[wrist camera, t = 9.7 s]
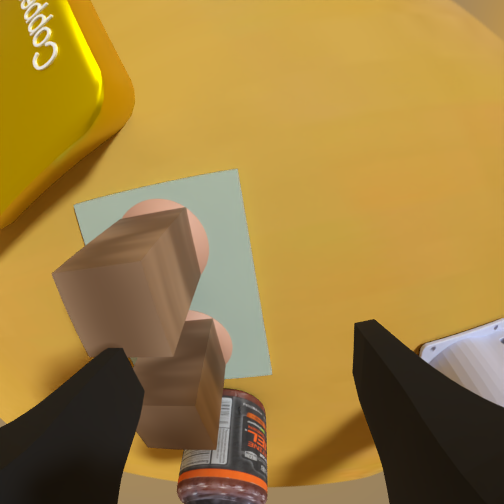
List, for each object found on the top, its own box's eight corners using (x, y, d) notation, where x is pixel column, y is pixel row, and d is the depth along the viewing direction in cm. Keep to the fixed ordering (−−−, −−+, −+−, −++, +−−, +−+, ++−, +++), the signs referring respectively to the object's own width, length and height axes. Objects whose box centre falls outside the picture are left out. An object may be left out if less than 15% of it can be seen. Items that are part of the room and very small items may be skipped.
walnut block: (186, 206, 16) (140, 261, 9) (201, 274, 17) (173, 356, 11) (120, 218, 16) (51, 273, 10) (138, 282, 18) (89, 356, 11)
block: (212, 318, 19) (195, 405, 12) (225, 364, 20) (216, 450, 14) (153, 323, 19) (117, 404, 12) (171, 368, 20) (148, 447, 14)
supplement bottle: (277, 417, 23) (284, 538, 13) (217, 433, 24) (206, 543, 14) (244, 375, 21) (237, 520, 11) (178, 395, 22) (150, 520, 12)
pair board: (237, 168, 16) (236, 169, 15) (271, 370, 21) (272, 375, 20) (76, 203, 16) (72, 205, 16) (143, 378, 22) (142, 382, 21)
